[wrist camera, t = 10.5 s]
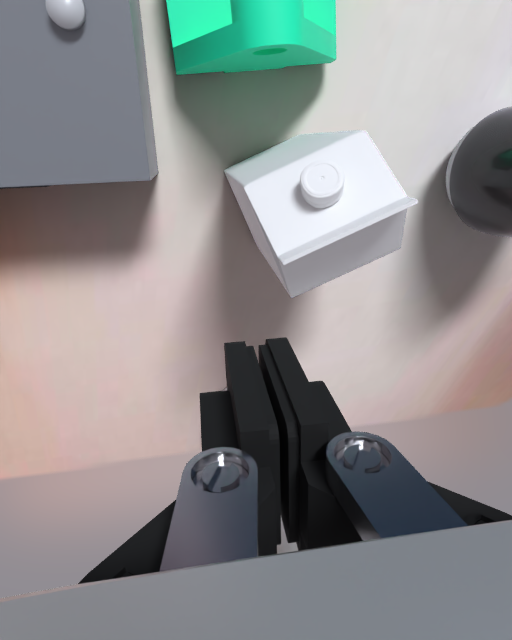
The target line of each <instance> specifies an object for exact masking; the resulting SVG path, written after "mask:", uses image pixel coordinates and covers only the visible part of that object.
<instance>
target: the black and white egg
mask: <svg viewBox="0 0 512 640" xmlns="http://www.w3.org/2000/svg"><path fill="white" fill-rule="evenodd" d="M446 189H447V194H448V197H449V200H450V202H451V204H452V206H453V207H454V209H455V211H456V213H457V214H458V216H459V217H460V218H461V220H462V221H463V222H464V223H465V224H467V225H468V226H469V227H471V228H472V229H474V230H476V231H479V232H482V233H485V234H489V235H494V236H501V237H512V107H507V108H504V109H501V110H498V111H496V112H494V113H492V114H490V115H488V116H487V117H485V118H484V119H483V120H481V121H480V122H479V123H478V124H477V125H476V126H474V127H473V128H472V129H471V130H470V131H468V132H467V133H466V135H465V136H464V137H463V138H462V139H461V140H460V141H459V143H458V144H457V146H456V147H455V149H454V151H453V153H452V155H451V157H450V160H449V163H448V166H447V171H446Z"/></svg>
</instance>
